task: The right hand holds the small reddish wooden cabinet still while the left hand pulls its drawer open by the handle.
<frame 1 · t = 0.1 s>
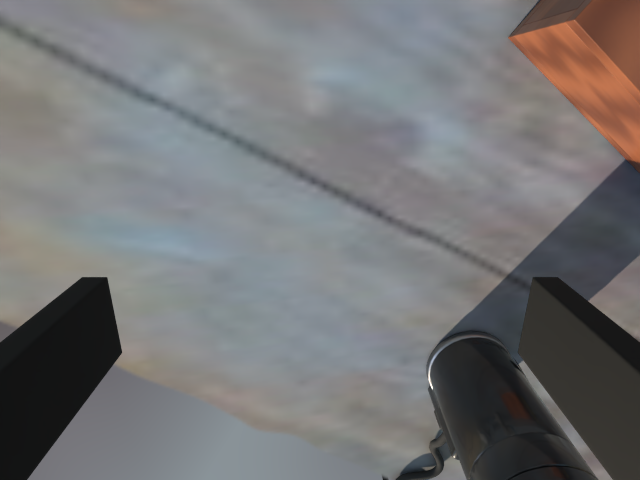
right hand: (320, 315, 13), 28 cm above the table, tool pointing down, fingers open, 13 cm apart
cabinet: (624, 60, 36), on the table
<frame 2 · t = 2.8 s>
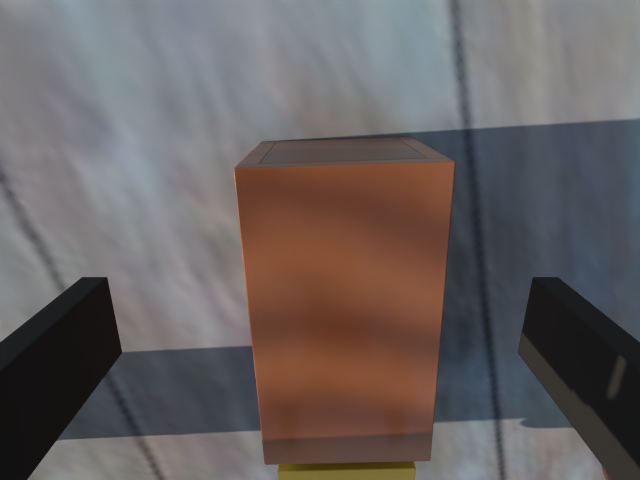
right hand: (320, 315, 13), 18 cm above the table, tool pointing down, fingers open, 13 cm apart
drawer: (342, 372, 29), point 5 cm above the table, slide at 1.8 cm
cabinet: (338, 263, 32), on the table
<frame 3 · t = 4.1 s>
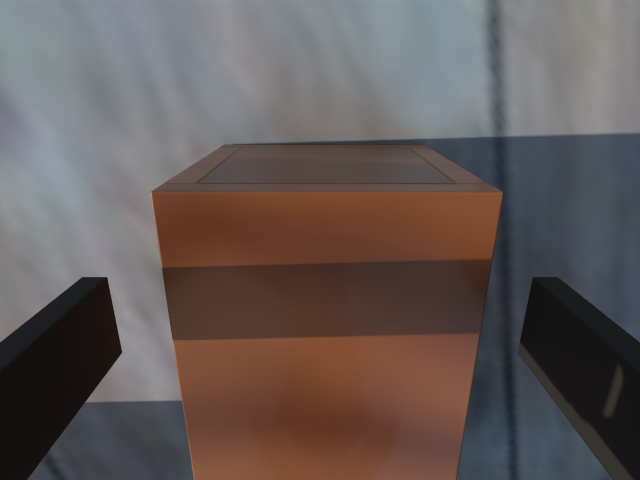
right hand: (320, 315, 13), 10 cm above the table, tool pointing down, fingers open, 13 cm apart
cabinet: (323, 303, 24), on the table
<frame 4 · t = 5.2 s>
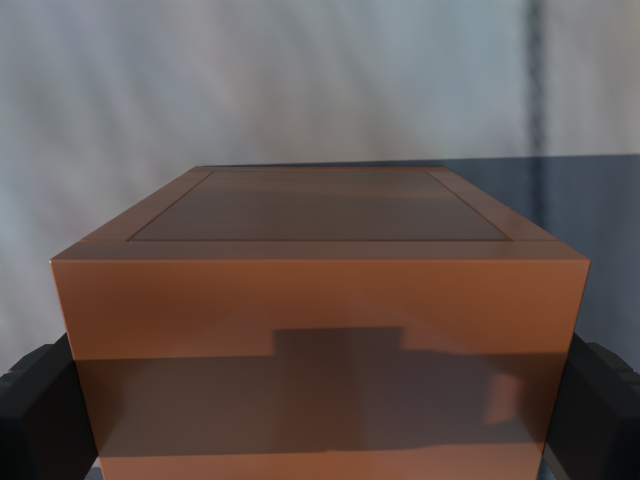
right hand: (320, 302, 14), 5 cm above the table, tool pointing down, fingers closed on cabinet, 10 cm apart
cabinet: (319, 355, 20), on the table, touching right hand
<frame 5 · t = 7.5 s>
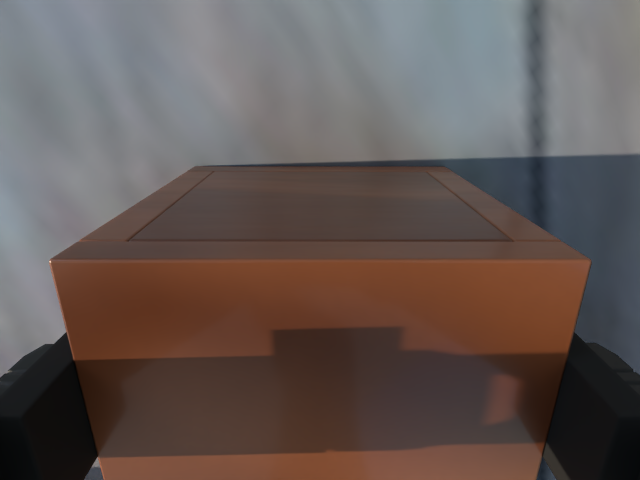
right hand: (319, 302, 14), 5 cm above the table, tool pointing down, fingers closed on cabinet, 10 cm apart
cabinet: (319, 355, 20), on the table, touching right hand
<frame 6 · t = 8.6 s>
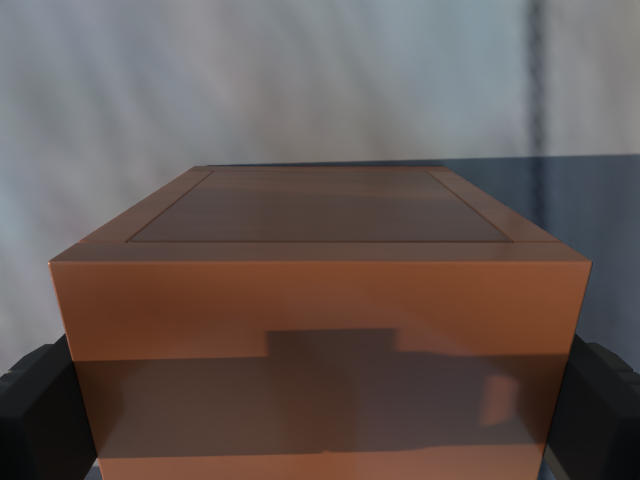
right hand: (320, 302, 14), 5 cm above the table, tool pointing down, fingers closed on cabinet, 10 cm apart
cabinet: (319, 355, 20), on the table, touching right hand
when the right hand's fingers open (5 cm above the table, at t = 10.5 s): cabinet stays where it is, on the table.
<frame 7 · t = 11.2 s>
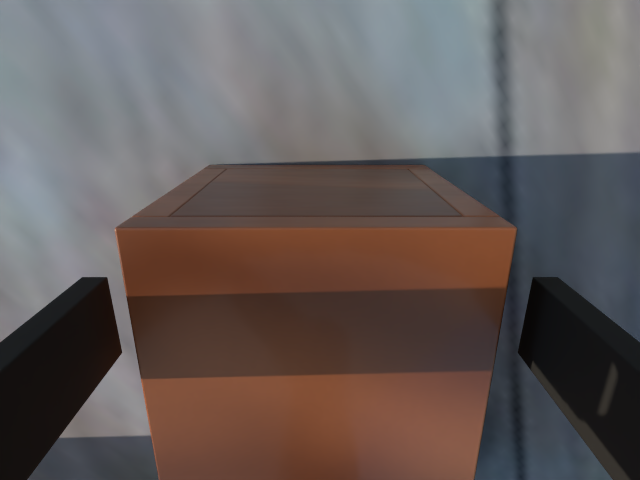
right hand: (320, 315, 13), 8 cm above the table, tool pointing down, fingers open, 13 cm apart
cabinet: (317, 332, 23), on the table
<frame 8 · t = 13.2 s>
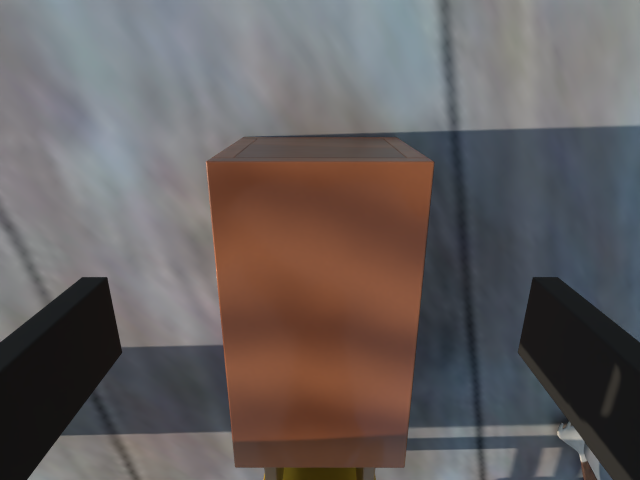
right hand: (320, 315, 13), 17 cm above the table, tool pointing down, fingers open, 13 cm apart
fork: (582, 462, 38), on the table
drawer: (319, 445, 31), point 5 cm above the table, slide at 8.3 cm
cabinet: (319, 263, 31), on the table
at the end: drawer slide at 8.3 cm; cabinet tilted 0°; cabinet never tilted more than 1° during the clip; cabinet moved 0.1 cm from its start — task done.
